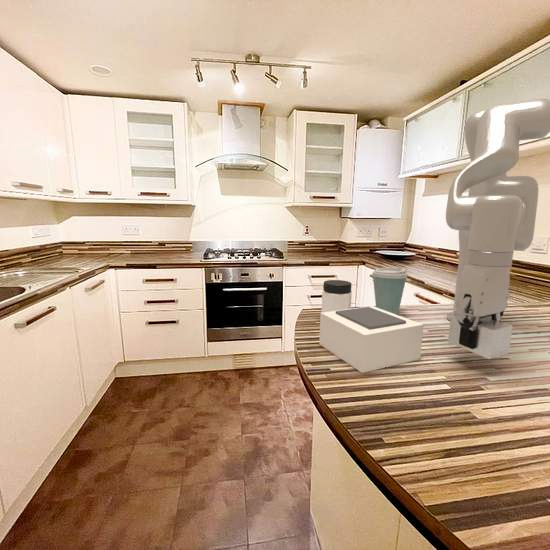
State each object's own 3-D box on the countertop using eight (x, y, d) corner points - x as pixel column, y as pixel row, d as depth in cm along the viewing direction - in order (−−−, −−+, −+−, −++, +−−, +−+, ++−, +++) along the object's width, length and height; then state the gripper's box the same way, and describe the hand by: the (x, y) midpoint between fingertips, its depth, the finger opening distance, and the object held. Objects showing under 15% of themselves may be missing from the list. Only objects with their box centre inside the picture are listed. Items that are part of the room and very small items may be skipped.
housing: (466, 337, 71) (470, 306, 70) (508, 353, 63) (514, 318, 61) (447, 341, 69) (451, 309, 67) (489, 359, 61) (494, 323, 59)
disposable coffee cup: (382, 320, 96) (385, 271, 93) (363, 310, 106) (366, 266, 103) (411, 317, 98) (415, 270, 96) (390, 308, 109) (393, 265, 106)
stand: (370, 334, 83) (372, 303, 82) (420, 359, 69) (423, 321, 67) (319, 344, 77) (320, 310, 75) (362, 373, 62) (364, 332, 61)
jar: (326, 315, 100) (327, 278, 98) (352, 319, 96) (354, 281, 94) (318, 323, 92) (319, 283, 89) (346, 327, 88) (348, 286, 86)
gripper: (496, 253, 69) (485, 330, 73) (441, 259, 62) (433, 344, 66) (535, 258, 62) (521, 342, 66) (479, 265, 55) (467, 359, 59)
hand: (477, 342), depth 66 cm, fingers closed on housing, 6 cm apart
